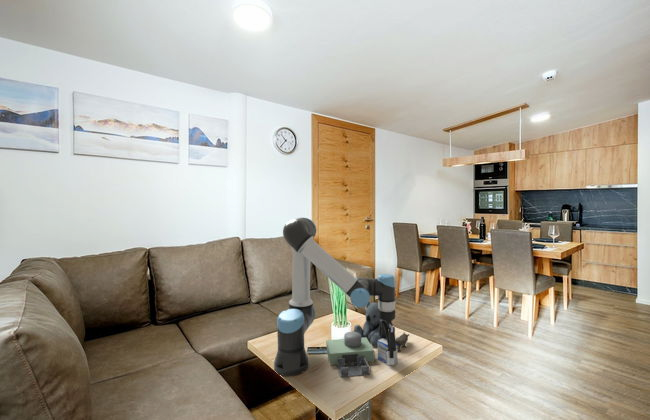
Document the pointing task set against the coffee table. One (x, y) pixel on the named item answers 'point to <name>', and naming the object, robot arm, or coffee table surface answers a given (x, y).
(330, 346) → the sage green box
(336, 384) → the coffee table surface
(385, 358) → the medicine box
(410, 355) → the coffee table surface
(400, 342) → the rhino figurine
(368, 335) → the koala plush
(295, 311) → the robot arm
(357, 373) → the chute bracket
